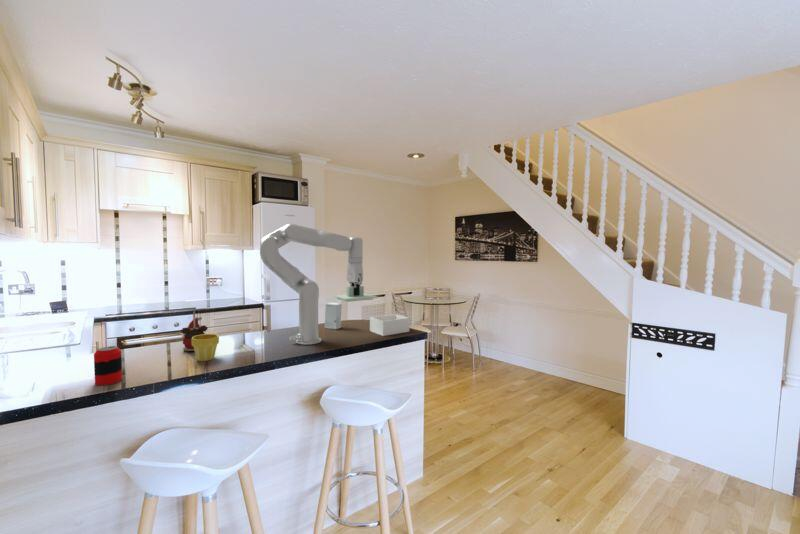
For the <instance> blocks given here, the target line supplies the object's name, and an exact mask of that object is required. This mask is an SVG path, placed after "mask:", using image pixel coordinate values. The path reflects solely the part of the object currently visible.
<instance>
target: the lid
mask: <svg viewBox="0 0 800 534" xmlns="http://www.w3.org/2000/svg"><path fill="white" fill-rule="evenodd" d="M354 288H355V286H352V287H350V286H346V294H337V295H336V294H335V295H334V294H333V296H332V297H333V298H336V300H339V301H343V302H346V303H348V302H349V303H350V302H358V301H359V302H361V301H370V300H371V301H372V300H374V299H377V298H378V296H377V295H373V294H368V293H364V292H365V287H364V286H363V285H360V295H357V296H354Z"/></svg>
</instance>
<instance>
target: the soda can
mask: <svg viewBox="0 0 800 534" xmlns="http://www.w3.org/2000/svg"><path fill="white" fill-rule="evenodd" d="M122 360H123V359H122V349H120V348H119V347H118V346H114V345H112V346H104V347H100V348H98V349H96V351H95V352H94V353H93V364H94V365H93V366H94V369H93V370H94V384H95V386H100V385H102V386H109V385H108V384H110V385H113V384H112V383H114V384H117V383H119V382H121V381H122V380H123V365H122V364H123V363H122V362H123V361H122ZM120 380H121V381H120ZM118 381H119V382H118ZM116 382H117V383H116Z"/></svg>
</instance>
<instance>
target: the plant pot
mask: <svg viewBox="0 0 800 534" xmlns="http://www.w3.org/2000/svg"><path fill="white" fill-rule="evenodd" d="M219 343H220V335H219V334H216V333H205V334H202V335H196V336H193V337H192V346H193V347H194V351H193V352H194V354H195V355H194V356H195V357H196V358H195V359H196V360H197V361H198V362H207V361H211V360H214V359H215V355H216V350H217V346H218V344H219Z"/></svg>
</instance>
